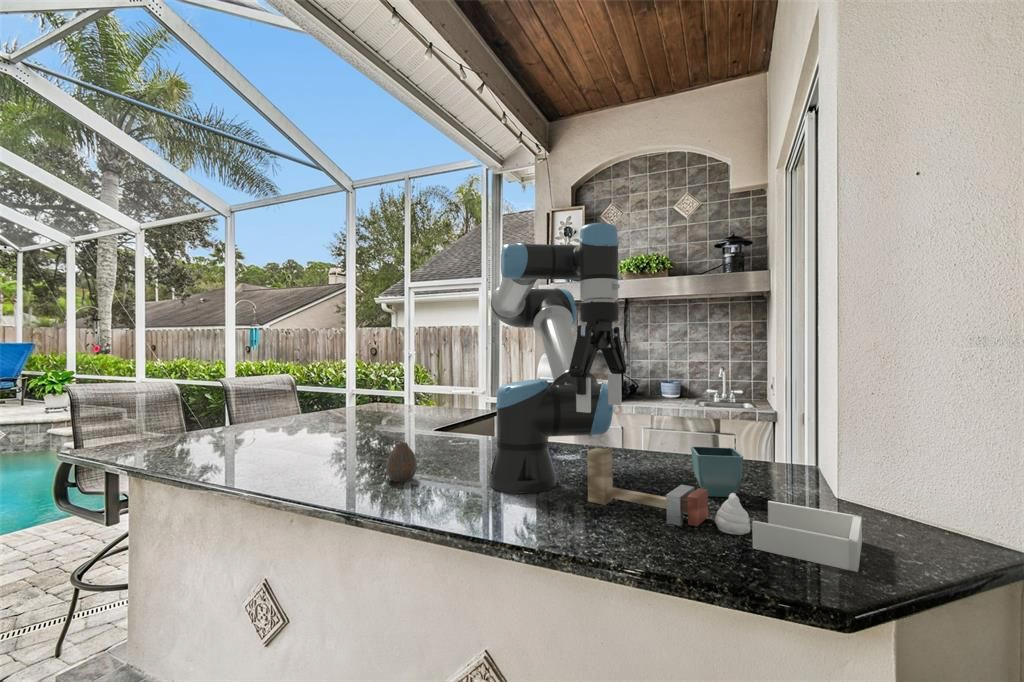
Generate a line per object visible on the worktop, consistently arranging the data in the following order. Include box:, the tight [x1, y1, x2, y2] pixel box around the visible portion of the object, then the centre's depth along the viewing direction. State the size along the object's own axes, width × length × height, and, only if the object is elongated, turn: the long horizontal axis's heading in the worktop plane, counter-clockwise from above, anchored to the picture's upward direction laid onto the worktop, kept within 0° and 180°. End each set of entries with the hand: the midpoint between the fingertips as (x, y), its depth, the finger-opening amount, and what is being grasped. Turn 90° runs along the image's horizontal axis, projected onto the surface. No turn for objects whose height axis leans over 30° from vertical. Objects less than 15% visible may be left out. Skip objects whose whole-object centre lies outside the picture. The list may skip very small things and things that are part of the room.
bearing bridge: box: [665, 484, 695, 527], centre depth 86 cm, size 2×8×5 cm, turn 142°
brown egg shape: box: [386, 441, 418, 483], centre depth 114 cm, size 7×7×9 cm
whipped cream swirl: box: [714, 492, 751, 536], centre depth 81 cm, size 6×6×5 cm
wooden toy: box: [586, 447, 709, 527], centre depth 91 cm, size 22×6×10 cm, turn 52°
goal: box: [751, 500, 863, 573], centre depth 74 cm, size 13×13×4 cm
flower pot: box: [690, 446, 744, 498], centre depth 101 cm, size 9×9×9 cm
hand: (600, 408), depth 97 cm, fingers open, 13 cm apart
